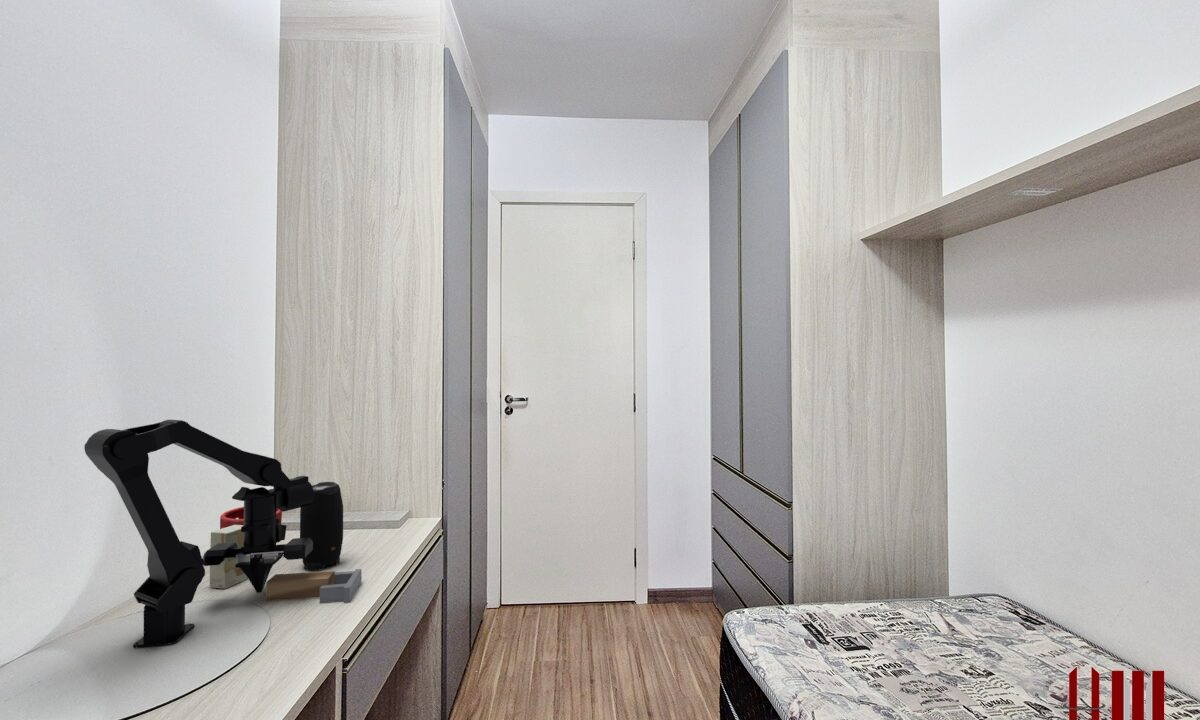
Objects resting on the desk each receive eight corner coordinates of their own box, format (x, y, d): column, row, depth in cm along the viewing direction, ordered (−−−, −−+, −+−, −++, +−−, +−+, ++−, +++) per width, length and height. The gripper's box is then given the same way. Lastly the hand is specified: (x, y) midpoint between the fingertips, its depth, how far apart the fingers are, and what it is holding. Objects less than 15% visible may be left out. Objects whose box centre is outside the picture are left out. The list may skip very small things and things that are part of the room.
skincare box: (225, 589, 114) (225, 533, 114) (208, 588, 115) (208, 532, 115) (250, 578, 120) (250, 524, 120) (234, 576, 121) (234, 523, 121)
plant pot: (208, 570, 125) (209, 519, 125) (235, 550, 138) (235, 505, 138) (269, 565, 128) (269, 516, 128) (289, 547, 140) (289, 502, 141)
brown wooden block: (327, 597, 110) (327, 578, 110) (266, 601, 109) (266, 582, 109) (334, 589, 114) (334, 571, 114) (275, 592, 113) (275, 574, 113)
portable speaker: (346, 565, 127) (346, 485, 127) (302, 575, 122) (302, 491, 122) (338, 555, 134) (339, 479, 134) (297, 564, 128) (297, 484, 128)
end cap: (349, 602, 108) (349, 587, 108) (318, 604, 107) (318, 590, 107) (361, 582, 118) (361, 568, 118) (332, 584, 116) (332, 571, 116)
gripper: (320, 504, 119) (320, 573, 119) (228, 509, 115) (227, 580, 115) (304, 518, 108) (303, 594, 108) (201, 524, 104) (201, 603, 104)
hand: (259, 592), depth 109 cm, fingers closed
